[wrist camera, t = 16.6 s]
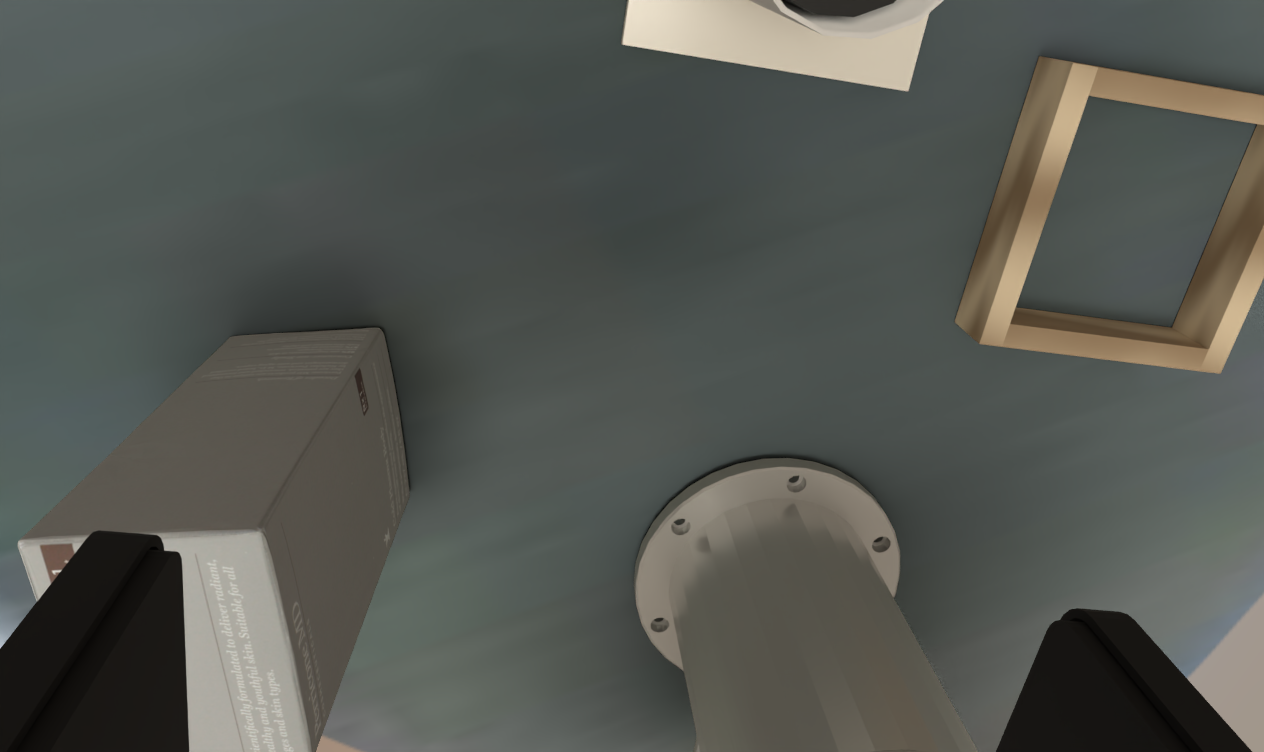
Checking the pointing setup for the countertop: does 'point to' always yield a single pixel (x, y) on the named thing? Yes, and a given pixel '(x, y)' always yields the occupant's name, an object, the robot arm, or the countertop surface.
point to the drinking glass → (852, 15)
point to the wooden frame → (1222, 284)
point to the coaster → (771, 41)
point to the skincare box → (258, 524)
